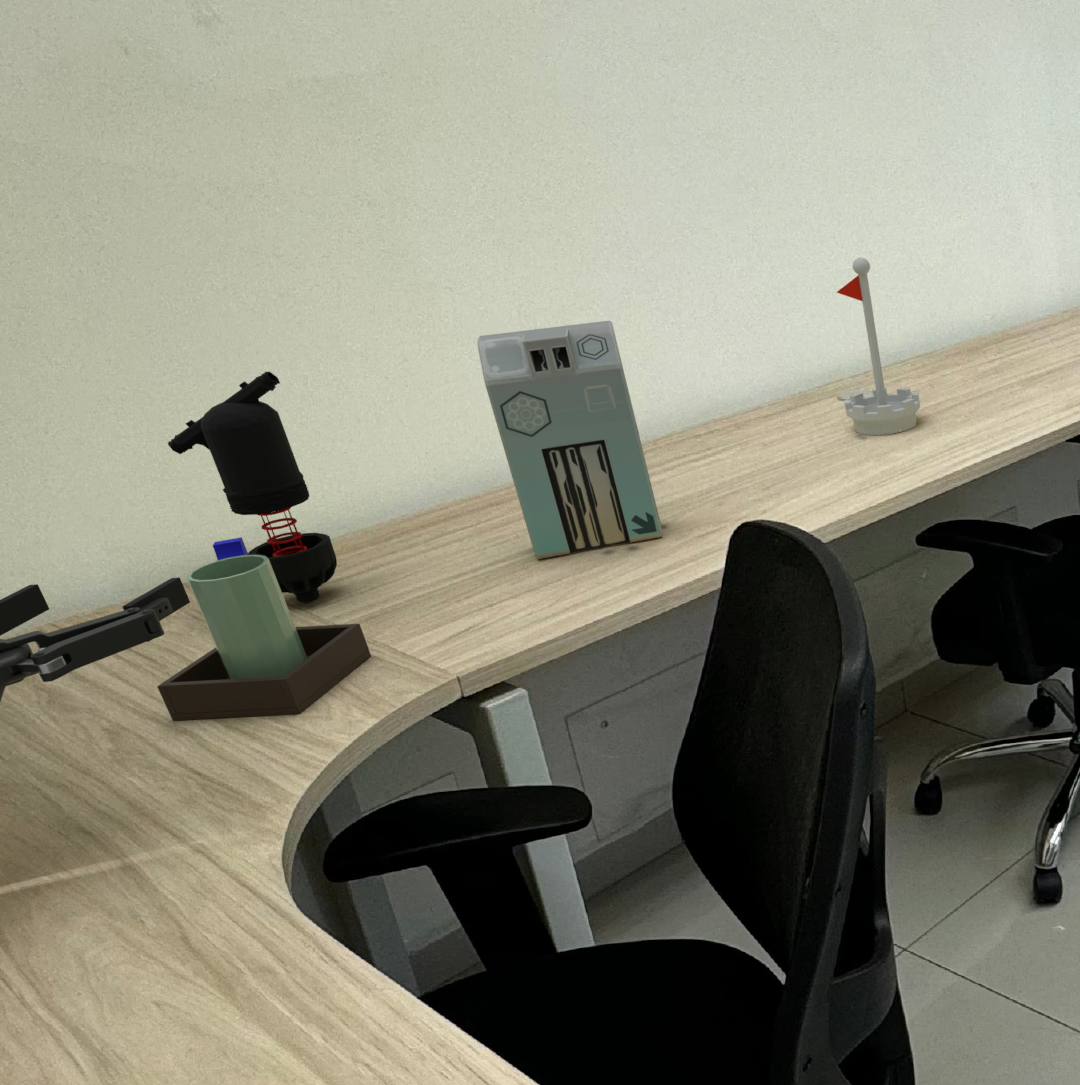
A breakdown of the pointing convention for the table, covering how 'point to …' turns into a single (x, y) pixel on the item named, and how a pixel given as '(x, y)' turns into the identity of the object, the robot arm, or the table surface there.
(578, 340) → the device
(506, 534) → the table surface
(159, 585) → the robot arm
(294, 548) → the filter
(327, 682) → the tray
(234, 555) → the blue block
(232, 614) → the green pipe segment
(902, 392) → the flag stand
